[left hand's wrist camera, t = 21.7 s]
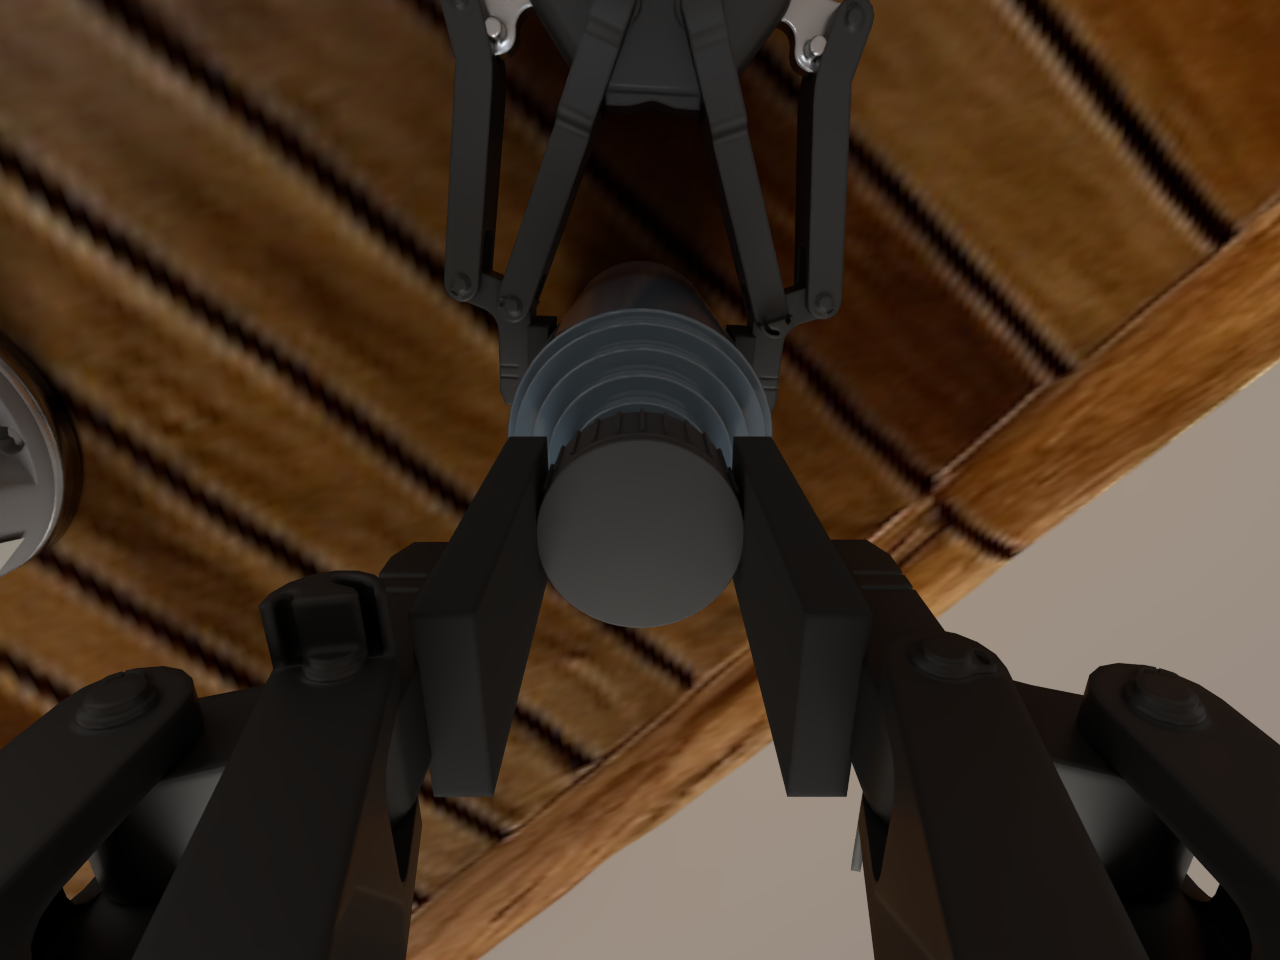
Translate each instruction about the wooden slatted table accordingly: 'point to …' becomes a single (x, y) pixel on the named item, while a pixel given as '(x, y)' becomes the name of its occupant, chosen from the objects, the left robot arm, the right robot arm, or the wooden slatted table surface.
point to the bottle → (640, 363)
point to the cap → (640, 520)
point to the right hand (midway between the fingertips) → (634, 484)
